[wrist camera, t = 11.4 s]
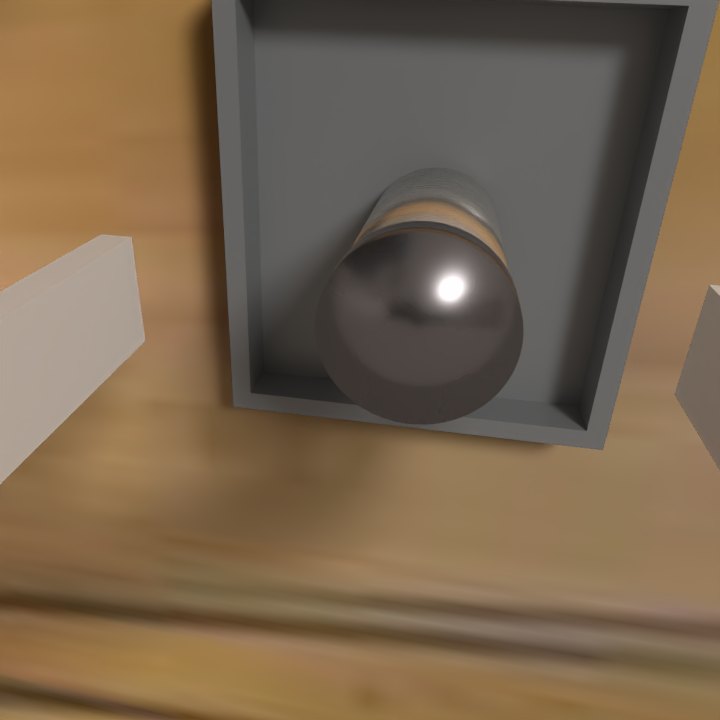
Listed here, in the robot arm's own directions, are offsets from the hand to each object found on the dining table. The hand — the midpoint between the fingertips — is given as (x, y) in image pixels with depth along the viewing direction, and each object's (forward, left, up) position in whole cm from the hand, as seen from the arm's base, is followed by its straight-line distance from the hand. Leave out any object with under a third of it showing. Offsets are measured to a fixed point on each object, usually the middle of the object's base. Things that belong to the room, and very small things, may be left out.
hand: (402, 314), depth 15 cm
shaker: (+1, 0, -11) cm, 11 cm away
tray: (0, 0, -12) cm, 12 cm away
